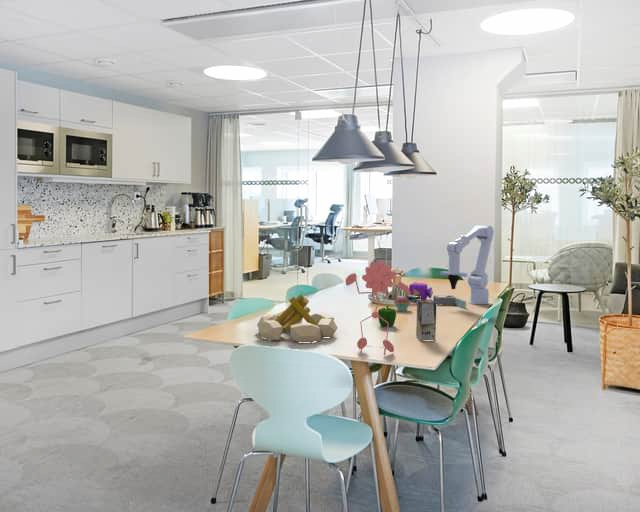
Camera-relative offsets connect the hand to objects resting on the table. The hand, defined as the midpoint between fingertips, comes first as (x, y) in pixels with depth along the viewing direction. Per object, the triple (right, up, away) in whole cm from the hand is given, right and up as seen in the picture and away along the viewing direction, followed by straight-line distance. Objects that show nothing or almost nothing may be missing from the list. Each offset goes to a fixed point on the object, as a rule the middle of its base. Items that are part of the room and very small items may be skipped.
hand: (453, 289), depth 325 cm
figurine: (-51, -19, -96) cm, 110 cm away
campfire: (-83, -16, -69) cm, 109 cm away
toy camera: (-14, -8, +22) cm, 27 cm away
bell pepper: (-42, -14, -49) cm, 66 cm away
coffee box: (-28, -17, -75) cm, 82 cm away
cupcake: (-30, -11, -11) cm, 33 cm away
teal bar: (+4, -10, +1) cm, 11 cm away
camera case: (-3, -9, +10) cm, 14 cm away
